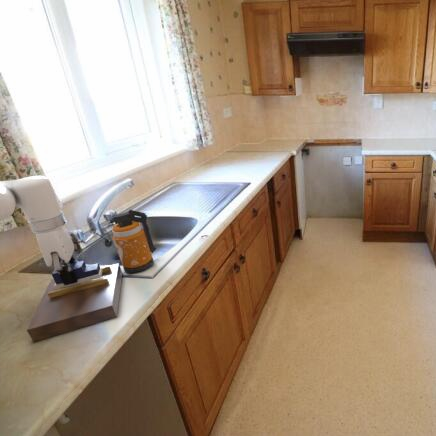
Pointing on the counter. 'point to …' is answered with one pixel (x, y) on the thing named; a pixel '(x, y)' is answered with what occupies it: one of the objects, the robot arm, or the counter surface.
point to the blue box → (79, 273)
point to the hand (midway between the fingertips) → (72, 278)
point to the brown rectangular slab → (77, 305)
